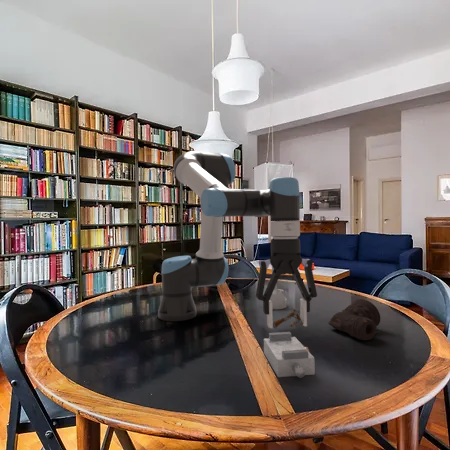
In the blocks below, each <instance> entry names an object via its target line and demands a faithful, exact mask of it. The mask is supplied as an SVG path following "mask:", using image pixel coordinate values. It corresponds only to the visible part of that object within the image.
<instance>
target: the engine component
mask: <svg viewBox="0 0 450 450" xmlns="http://www.w3.org/2000/svg"><path fill="white" fill-rule="evenodd" d="M273 270H274V268H273V267H272V266H271V273H272V272H273ZM270 301H271V302H272V310H283V309H285V308H287V305H288V304H287V301H288V300H287V297H286V295H285V290H284V289H279V288H278V282H277V283H276V286H275V288H274V291H273V293H272V295H271V298H270Z"/></svg>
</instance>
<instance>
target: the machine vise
mask: <svg viewBox="0 0 450 450" xmlns="http://www.w3.org/2000/svg"><path fill="white" fill-rule="evenodd" d="M263 353H264V355H265V357H266V359H267V361H268V362H269V364H270V366H271V368H272V370H273V371H274V373H275V374H276V376H277V378H283V377H284V378H287V377H298V378H300V379H301V378H303V377H305V376H310V375H312V376H314V375H315V373H316V372H315V371H316V370H315V369H316V367H315V366H316V365H315V357H314V356H313V355H312V354H311V352H310V349H309V347H308V346H305V345H304V344H302V343H301V342H300V341H299V340H298V339H297V337H296V336H292V333H291V331H280V332H268V338H263Z"/></svg>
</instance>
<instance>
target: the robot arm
mask: <svg viewBox="0 0 450 450" xmlns="http://www.w3.org/2000/svg"><path fill="white" fill-rule="evenodd" d="M173 174H174V176H175V178H176V179H177V181H178V182H180V184H183V185H186V186H188V187H189V188H190V190H192V191H193V193H194V194H195V195H197V197H198V198H199V199H200V204H199V205H200V209H201V220H200V236H199V237H200V238H199V249H198V251H197V252H196V253H195V258H192V257H191V255H179V256H178V255H177V256H173V257H169V258H166V259H164V260H163V261H162V264H161V292H162V293H161V301H160V304H159V307H158V311H157V317H158V319H159V320H161V321H165V322H180V321H181V322H183V321H188V320H191V319H194V318H196V317H197V307H196V304H195V300H194V298H193V295H192V294H193V293H192V289H194V288H196V289H197V288H202V287H203V288H204V287H216V286H218V285H220V286H221V285H222V284H224V283H225V282H226V280H227V279H228V275H229V269H230V267H229V261H228V259H227V258H226V257H225V254H224V252H222V249H221V248H222V233H223V222H224V221H223V219H224V218H225V217H226V218H228V217H255V218H263V217H269V219H270V220H269V221H270V222H269V223H270V234H269V235H270V237H271V239H270V256H269V259H265V260H262V259H260V260H259V261H258V265H259V275H258V280H257V285H256V292H255V297H256V299H258V301H262V304H263V306H262V309H263V313H264V315H266V325H267V327H268V328H269V329H274V327H273V322H274V320H273V319H274V318H273V316H274V315H273V310H274V309H272V302H271V301H270V298H271V295H272V293H273V291H274V288H275V286H276V283H277V284H278V281H279V278H280V277H281V276H282V275H288V274H289V275H291V276H292V277H293V279H294V281H295V283H296V285H297V288H298V289H299V291H300V294H301V297H302V298H300V299H299V309H300V312H299V317H300V319H301V320H302V323H303V325H302V326H303V327H308V321H307V320H308V313H310V312H311V303H310V302H311V300H312V299H313V298H317V297H318V293H317V287H316V283H315V278H314V273H313V263H314V262H313V259H309V258H302V256H301V240H300V238H299V237H300V236H301V223H300V216H301V215H300V213H301V212H300V209H301V208H300V206H301V205H300V196H301V192H300V186H299V180H298V179H297V178H296V177H289V176H286V177H285V176H284V177H274V178H272V179H271V180H270V181H269V187H268V189H243V188H242V189H240V188H238V189H237V188H229V185H231V184H233V183H234V181H235V179H236V165H235V162H234V160H233V158H232V157H231V156H230V155H229V154H226V153H220V152H206V151H197V150H196V151H195V150H193V151H192V150H191V151H186V152H184V153H182V154H180V156H178V157H177V158H176V160H175V161H174V165H173ZM301 264H302V267H303V271H304V274H305V279H306V284H307V287H306V285H305V283H304V281H303V279H302V276H301V273H300V270H299V267H300V266H301ZM270 265H271V268H272V267H273V268H274V270H273V272H272V271H271V275H270V278H269V281H268V284H267V286H266V289H265V285H266V278H267V273H268V272H267V271H268V269H269V267H270Z"/></svg>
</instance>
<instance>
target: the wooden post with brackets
mask: <svg viewBox="0 0 450 450" xmlns="http://www.w3.org/2000/svg"><path fill="white" fill-rule="evenodd" d="M291 318H295V319H297V321H293V322H290V323H289V324H290V325H289V328H294V327H297V325H298V324H300V325H301V326H303V323H302V320H301V319H300V308H296V309H295V308H294V309H292V311H291V313H289V314H286V315H284V316H283V317H282V318H280V319H277V320H275V321H274V320H273V329H275V330H277V327H279V325H281V324H283V323H284V322H287V321H288V320H290V319H291Z"/></svg>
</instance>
